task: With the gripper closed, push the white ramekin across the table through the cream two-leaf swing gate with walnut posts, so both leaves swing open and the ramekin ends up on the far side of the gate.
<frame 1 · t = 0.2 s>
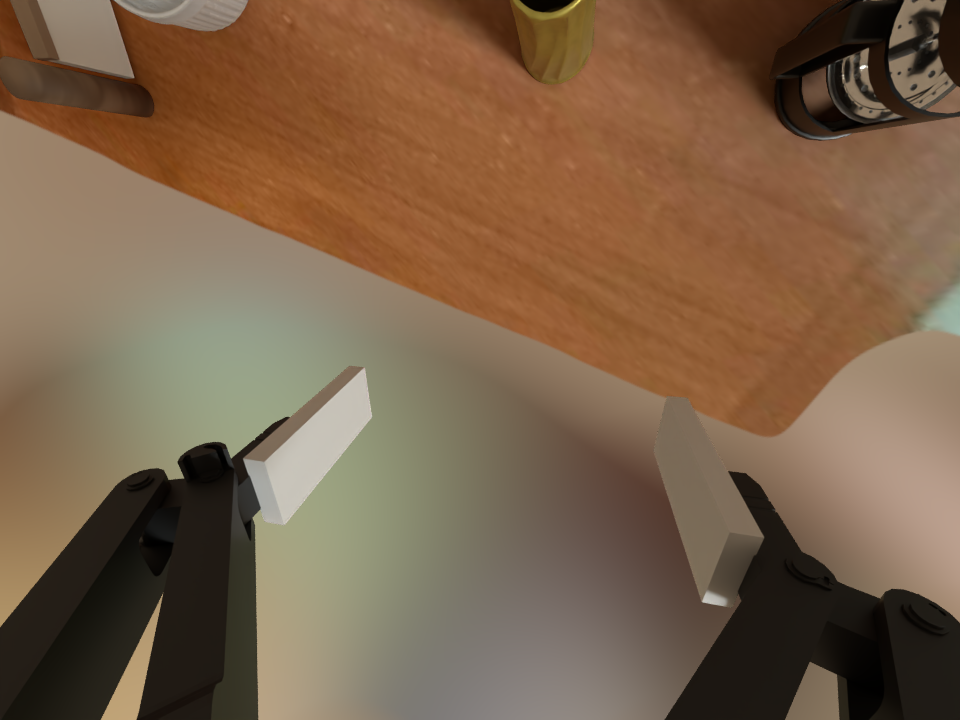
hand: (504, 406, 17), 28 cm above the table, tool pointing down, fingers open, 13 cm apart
vase: (556, 42, 33), on the table
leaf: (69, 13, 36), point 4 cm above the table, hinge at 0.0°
french press: (834, 73, 30), on the table
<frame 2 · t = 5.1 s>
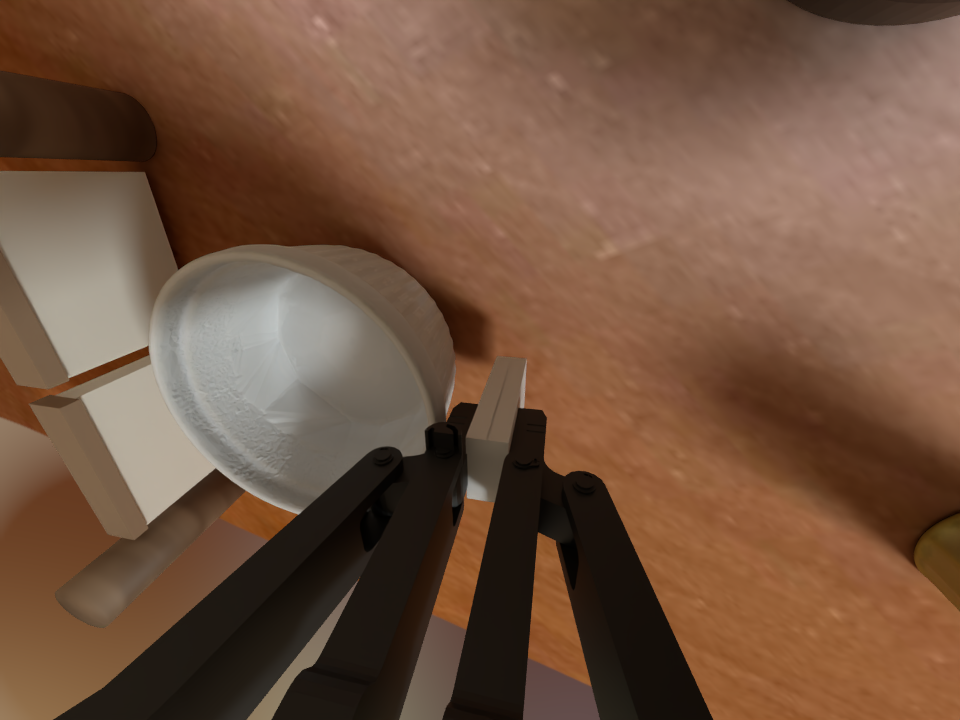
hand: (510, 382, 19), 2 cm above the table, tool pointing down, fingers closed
gate posts: (198, 329, 24), on the table
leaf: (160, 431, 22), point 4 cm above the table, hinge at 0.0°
ramekin: (366, 344, 22), on the table, touching gripper
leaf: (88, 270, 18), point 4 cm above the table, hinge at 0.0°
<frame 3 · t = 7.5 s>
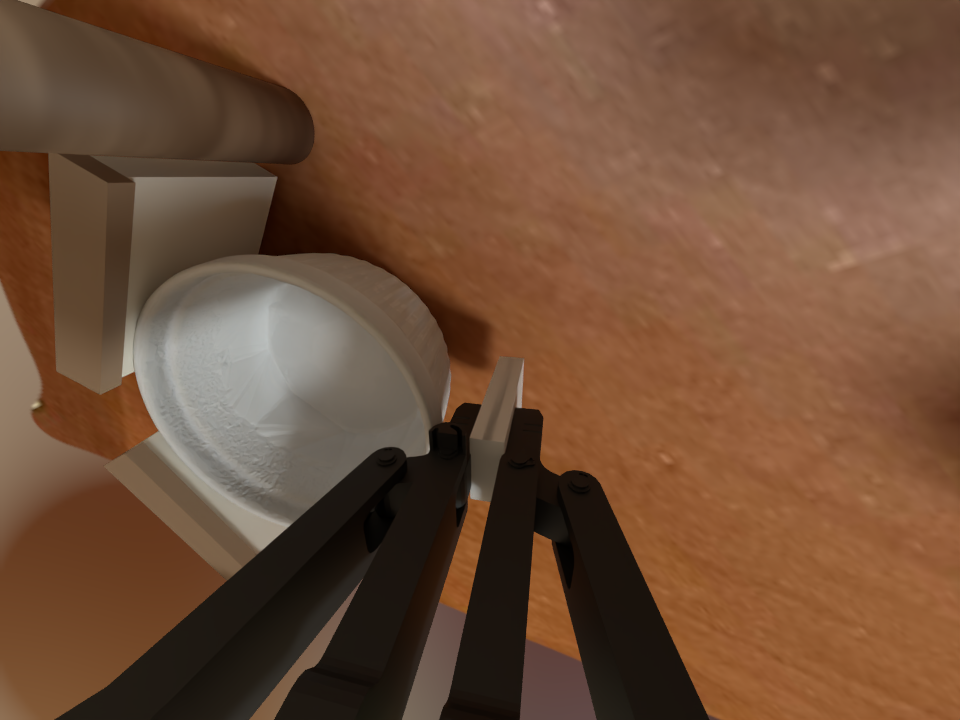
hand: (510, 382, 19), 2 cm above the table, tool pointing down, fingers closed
gate posts: (325, 349, 22), on the table
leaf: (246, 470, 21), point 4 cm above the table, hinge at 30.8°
ramekin: (359, 353, 22), on the table, touching gripper
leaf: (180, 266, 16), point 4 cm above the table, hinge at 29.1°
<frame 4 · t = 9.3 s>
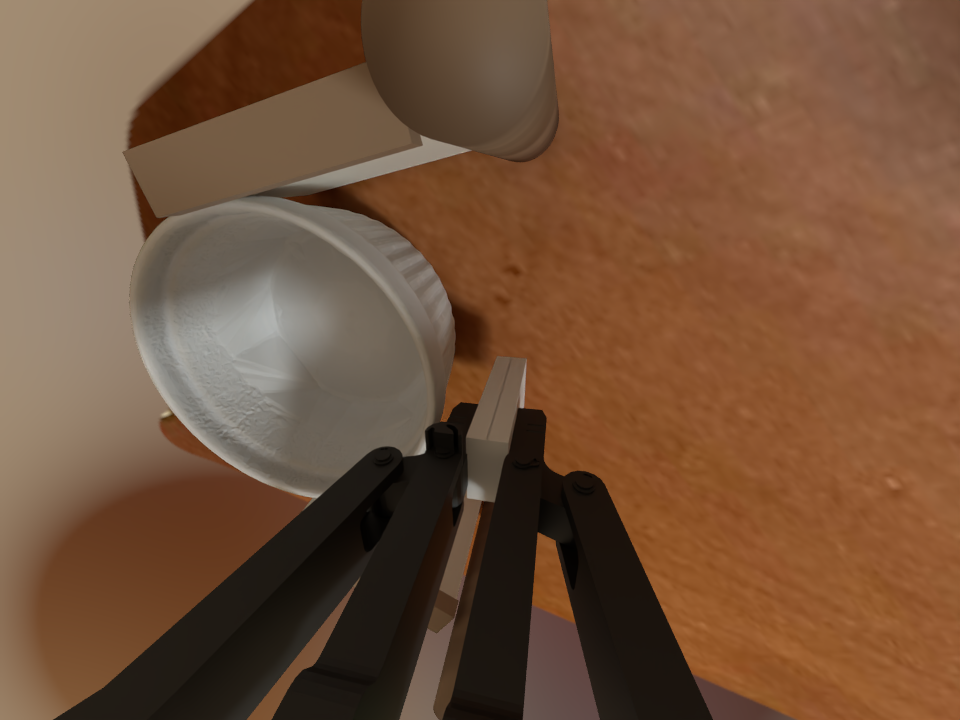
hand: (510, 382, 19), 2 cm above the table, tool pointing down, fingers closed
gate posts: (511, 361, 20), on the table
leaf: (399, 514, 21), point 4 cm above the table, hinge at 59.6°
ramekin: (361, 319, 21), on the table, touching gripper
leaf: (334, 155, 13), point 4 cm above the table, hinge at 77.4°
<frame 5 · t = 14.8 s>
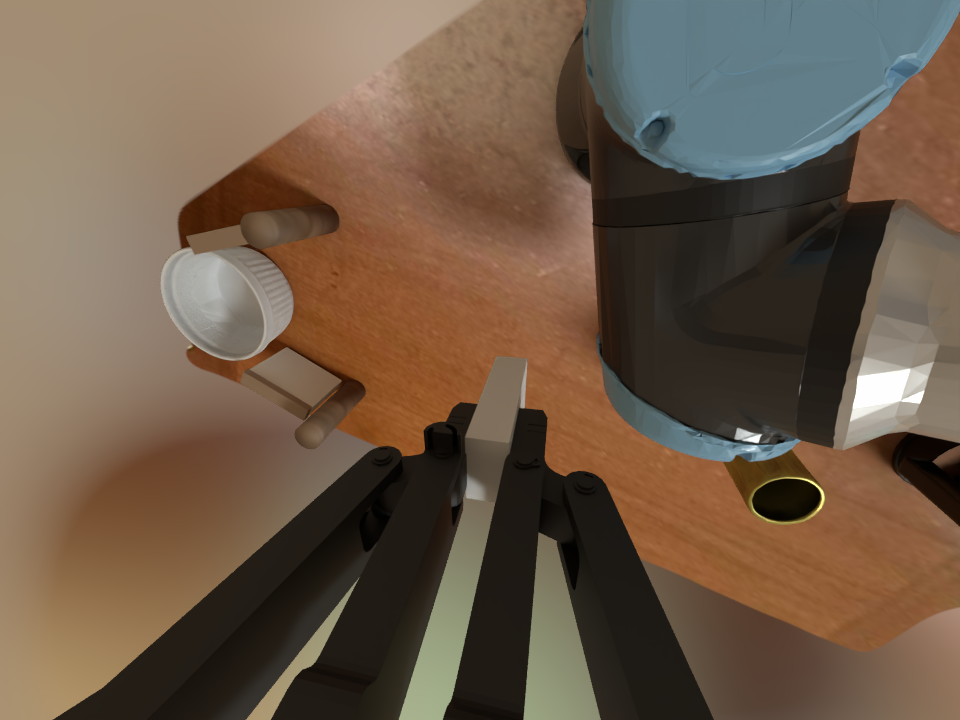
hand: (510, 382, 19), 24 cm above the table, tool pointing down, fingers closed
gate posts: (342, 312, 47), on the table
vase: (720, 404, 43), on the table
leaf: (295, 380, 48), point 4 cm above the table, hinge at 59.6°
ramekin: (257, 291, 49), on the table
french press: (941, 450, 40), on the table
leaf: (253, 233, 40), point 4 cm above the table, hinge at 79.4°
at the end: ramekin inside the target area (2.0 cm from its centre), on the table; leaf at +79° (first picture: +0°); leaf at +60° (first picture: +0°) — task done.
